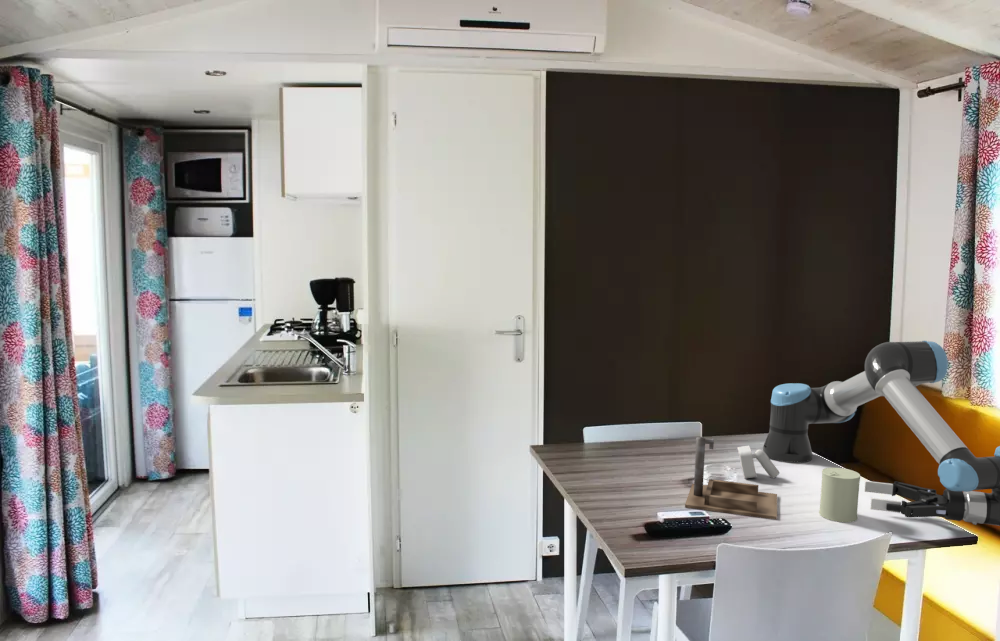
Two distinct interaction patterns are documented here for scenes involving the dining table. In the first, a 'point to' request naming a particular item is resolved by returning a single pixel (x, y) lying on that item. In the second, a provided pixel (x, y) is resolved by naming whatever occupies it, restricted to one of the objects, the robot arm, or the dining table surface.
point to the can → (839, 494)
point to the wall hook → (748, 462)
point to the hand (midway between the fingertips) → (867, 494)
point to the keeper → (727, 492)
